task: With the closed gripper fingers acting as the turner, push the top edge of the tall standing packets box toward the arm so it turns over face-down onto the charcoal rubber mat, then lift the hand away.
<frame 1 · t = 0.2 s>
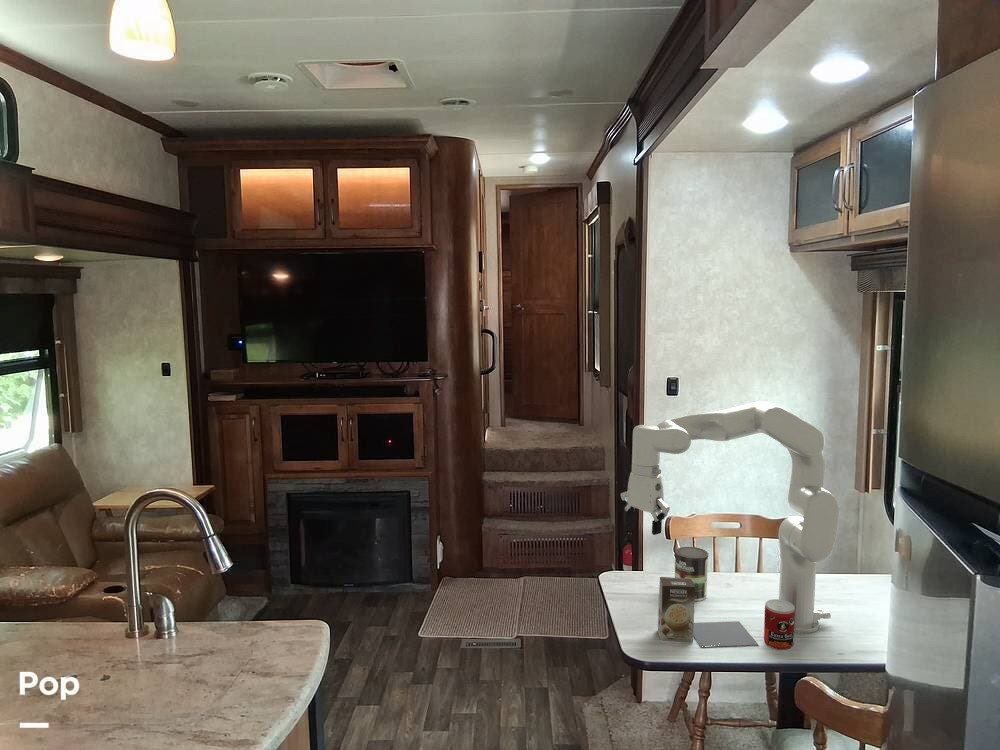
hand: (643, 529, 202), 30 cm above the table, tool pointing down, fingers open, 9 cm apart
coffee box: (675, 636, 203), on the table
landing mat: (720, 634, 203), on the table
canned food: (778, 643, 198), on the table
coffee can: (690, 595, 230), on the table
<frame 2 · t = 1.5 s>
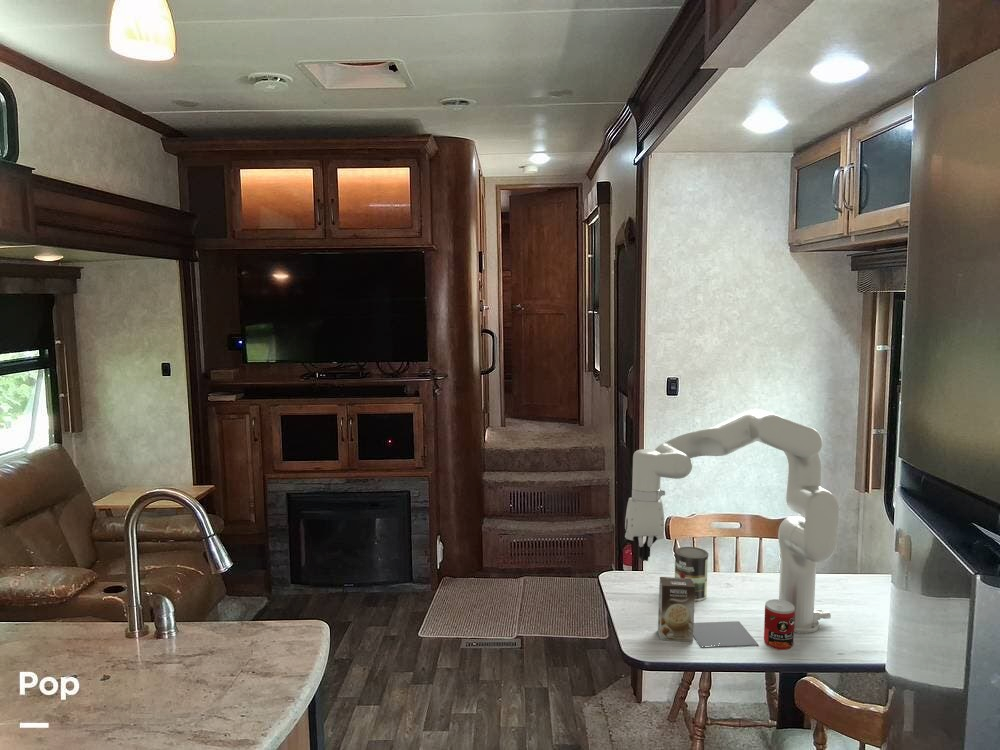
hand: (643, 559, 200), 23 cm above the table, tool pointing down, fingers closed
nothing on the table moved.
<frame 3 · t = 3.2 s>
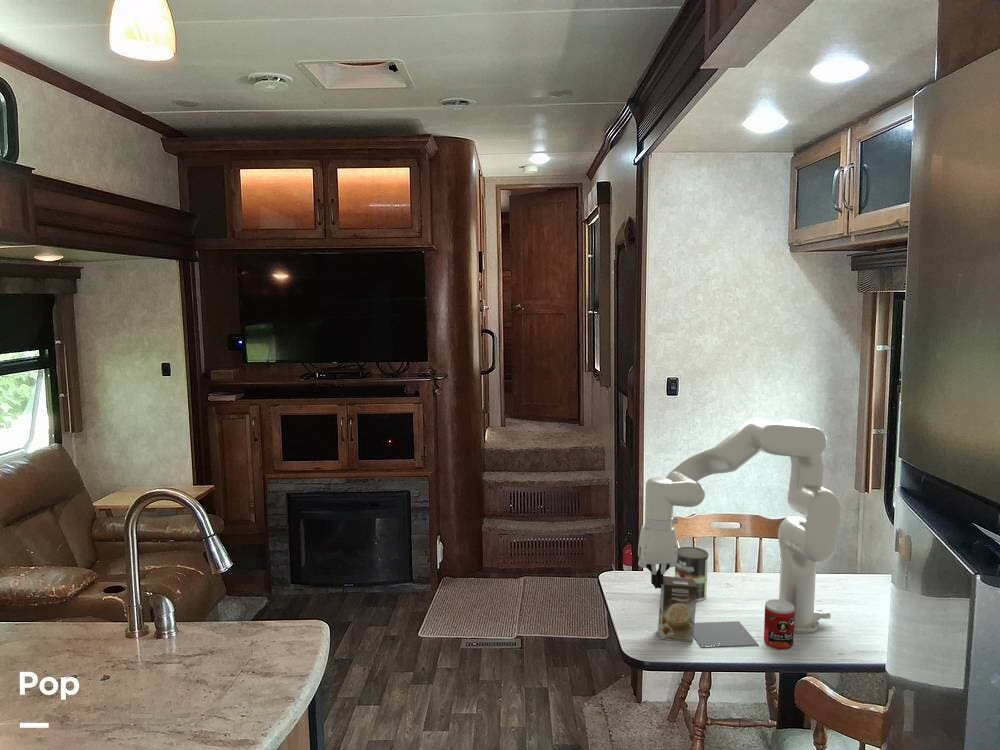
hand: (657, 586, 201), 15 cm above the table, tool pointing down, fingers closed
coffee box: (675, 636, 203), on the table, touching gripper
everything else where it was.
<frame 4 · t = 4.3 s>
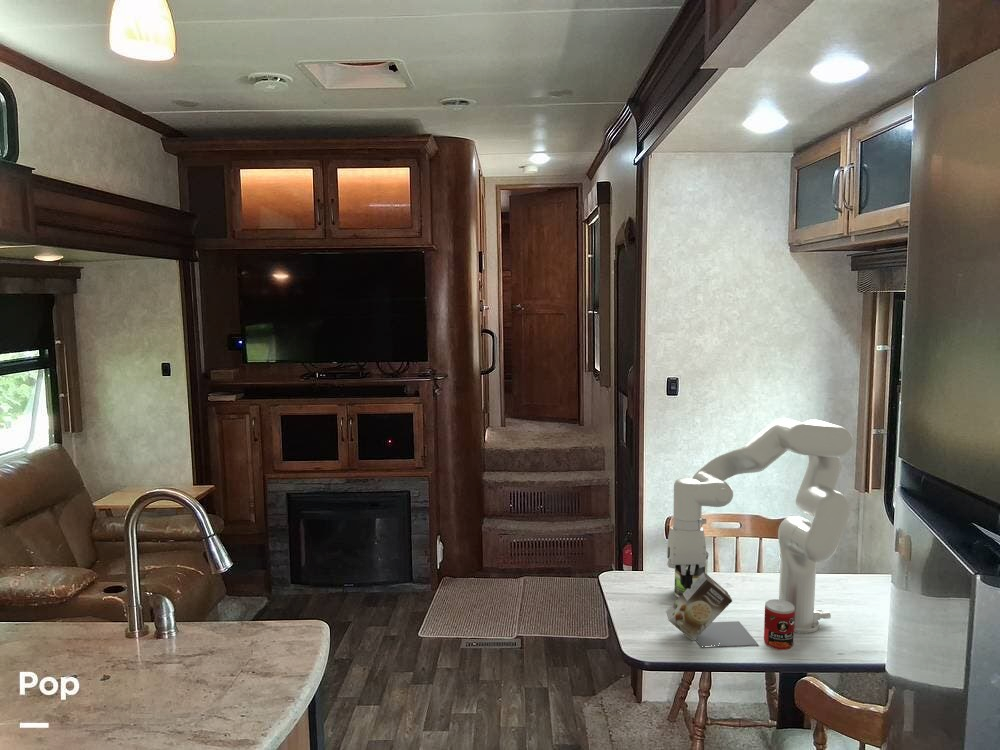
hand: (686, 586, 201), 14 cm above the table, tool pointing down, fingers closed
coffee box: (678, 627, 202), point 3 cm above the table
everything else where it was.
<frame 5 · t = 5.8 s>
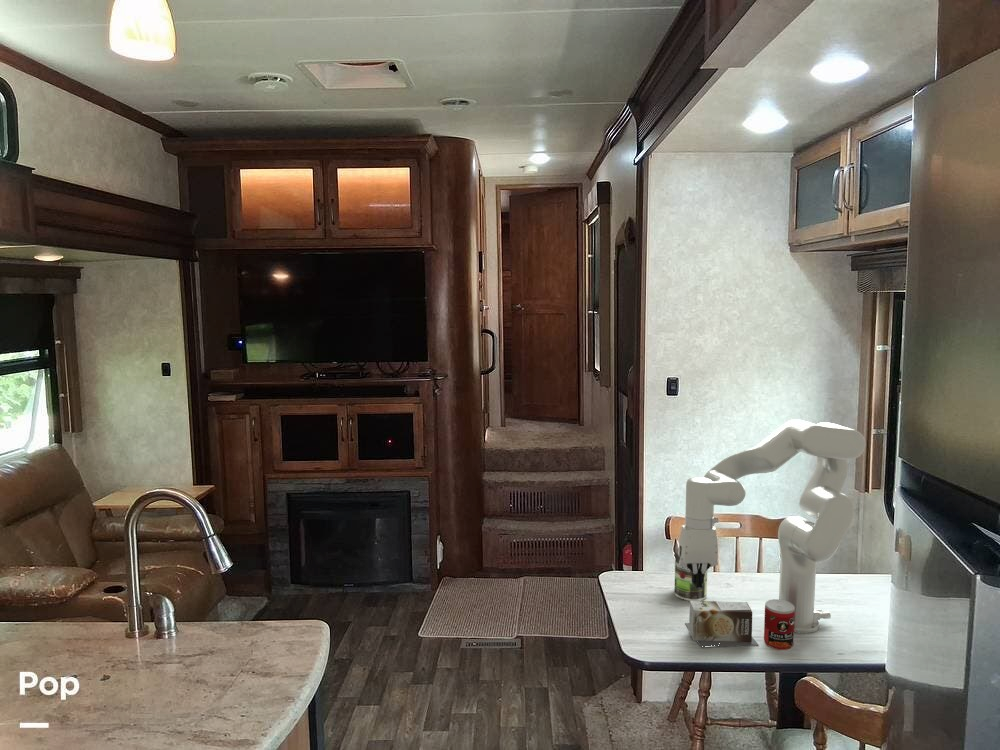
hand: (697, 585, 201), 15 cm above the table, tool pointing down, fingers closed
coffee box: (690, 620, 202), point 5 cm above the table, touching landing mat
everything else where it was.
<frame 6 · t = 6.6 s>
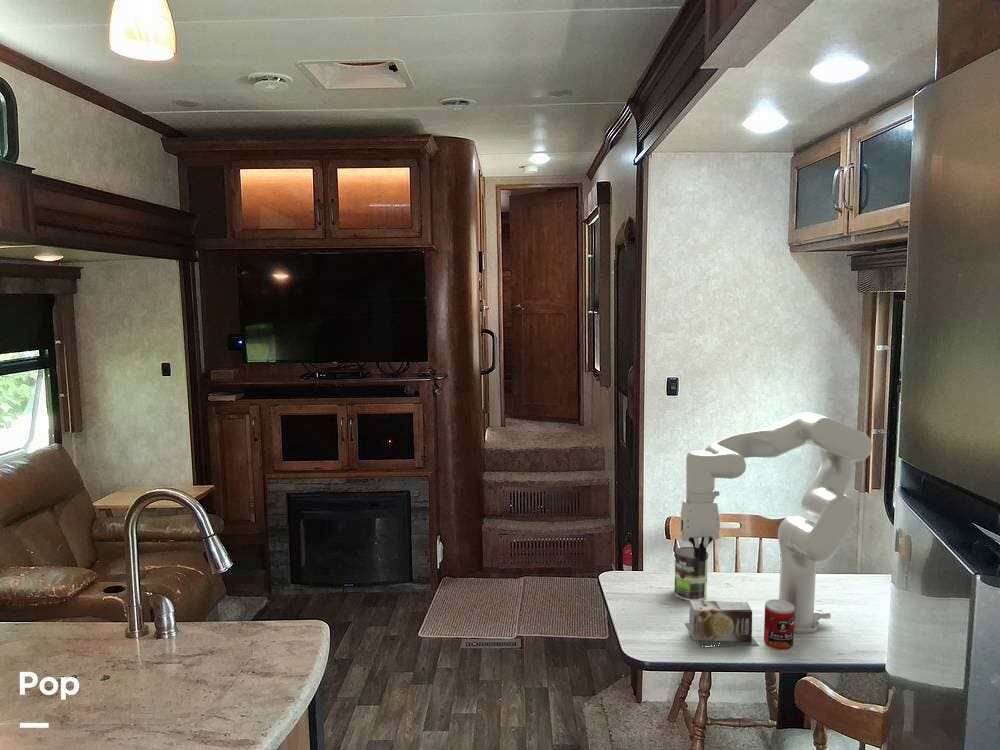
hand: (699, 559, 201), 22 cm above the table, tool pointing down, fingers closed
nothing on the table moved.
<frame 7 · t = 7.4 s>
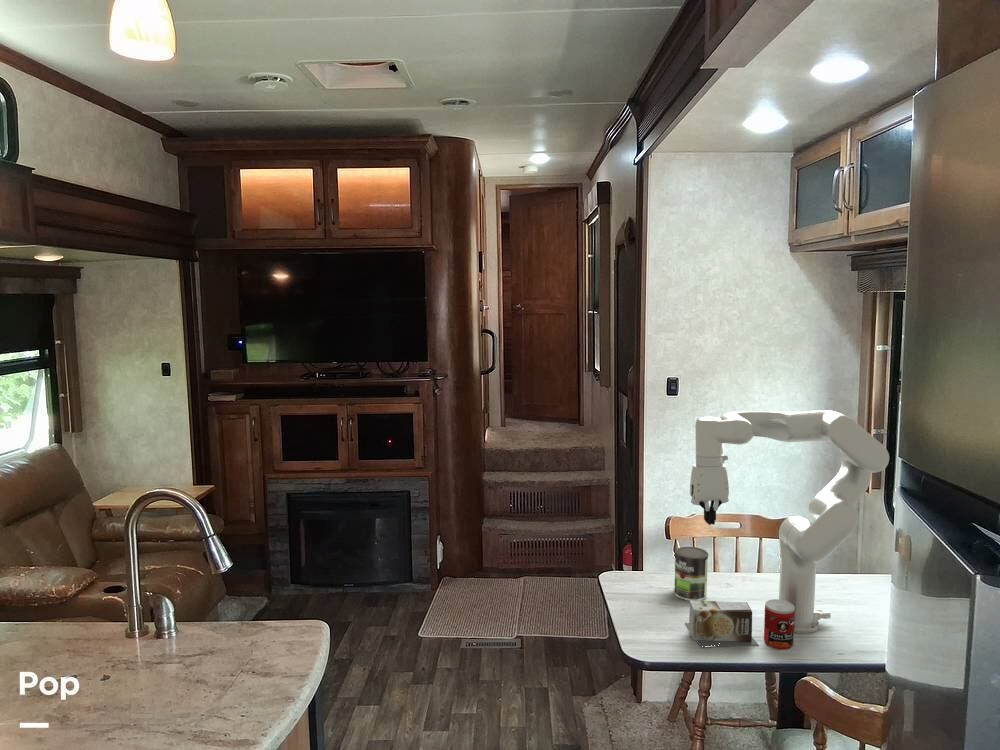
hand: (710, 523, 207), 30 cm above the table, tool pointing down, fingers closed
nothing on the table moved.
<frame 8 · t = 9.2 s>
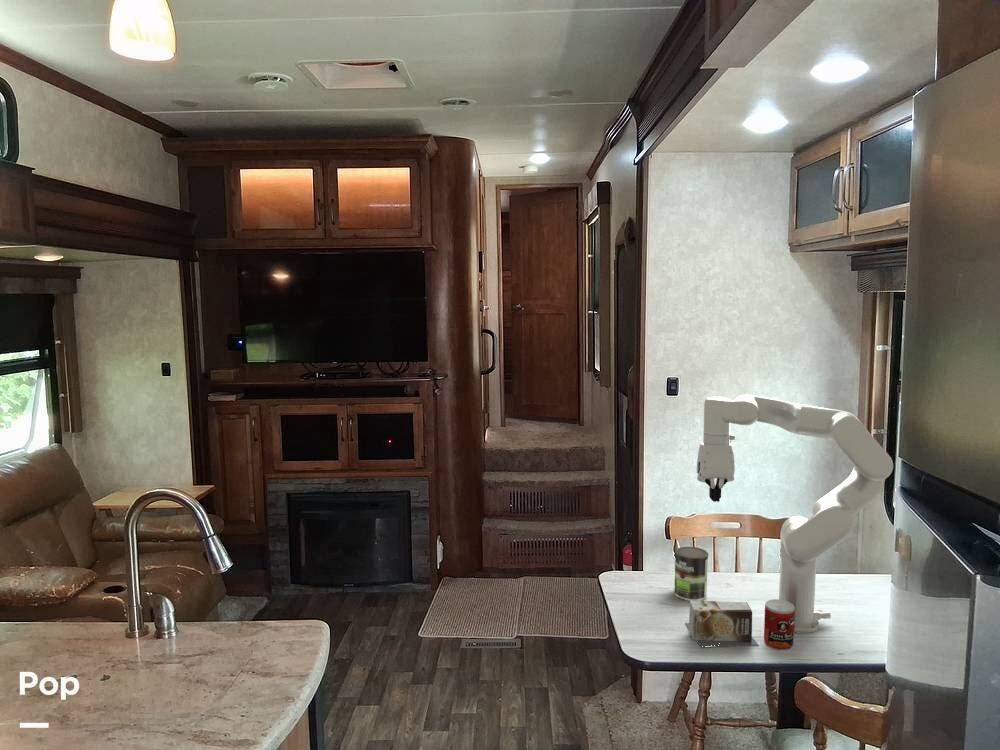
hand: (715, 500, 212), 35 cm above the table, tool pointing down, fingers closed
nothing on the table moved.
at the end: coffee box tilted 89°; coffee box inside the target area (1.6 cm from its centre), point 4.7 cm above the table; coffee box touching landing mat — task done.
